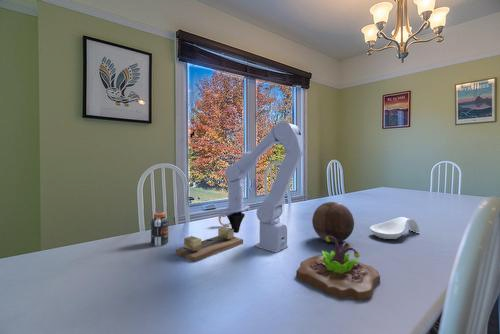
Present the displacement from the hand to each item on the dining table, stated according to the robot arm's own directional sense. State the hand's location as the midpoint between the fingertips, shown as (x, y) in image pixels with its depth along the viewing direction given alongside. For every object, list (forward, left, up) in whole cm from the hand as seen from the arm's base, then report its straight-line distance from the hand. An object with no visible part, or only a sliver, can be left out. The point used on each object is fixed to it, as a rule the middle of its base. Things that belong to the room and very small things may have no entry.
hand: (235, 232), depth 97 cm
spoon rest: (-46, -47, -3) cm, 66 cm away
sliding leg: (+1, +5, -1) cm, 5 cm away
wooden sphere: (-29, -23, -3) cm, 37 cm away
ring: (+16, -11, -3) cm, 19 cm away
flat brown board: (0, +12, -3) cm, 13 cm away
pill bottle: (+18, +21, -3) cm, 28 cm away
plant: (-41, +4, -3) cm, 41 cm away
